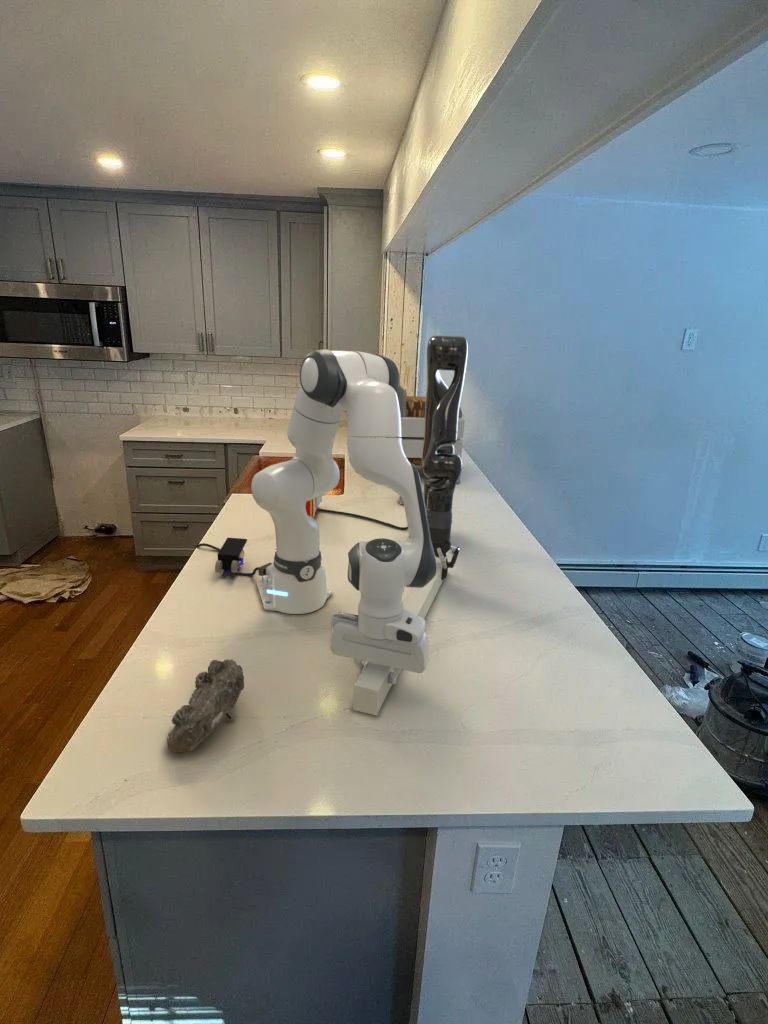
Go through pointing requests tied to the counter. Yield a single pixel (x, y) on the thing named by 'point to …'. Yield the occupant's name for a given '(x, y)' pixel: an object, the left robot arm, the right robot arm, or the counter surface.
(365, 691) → the beam
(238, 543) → the black wheeled block
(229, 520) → the counter surface
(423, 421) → the grey wooden crate
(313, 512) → the toy
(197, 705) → the fossil
